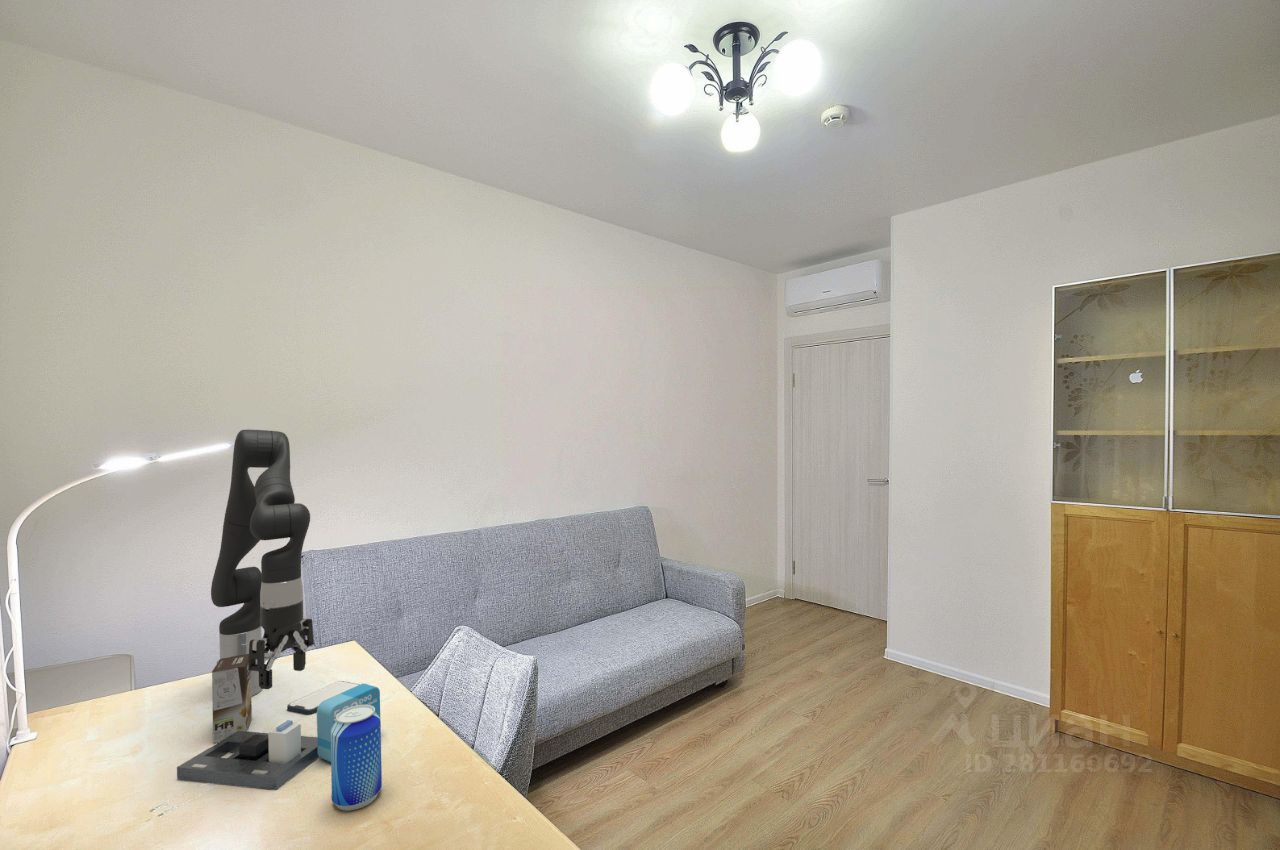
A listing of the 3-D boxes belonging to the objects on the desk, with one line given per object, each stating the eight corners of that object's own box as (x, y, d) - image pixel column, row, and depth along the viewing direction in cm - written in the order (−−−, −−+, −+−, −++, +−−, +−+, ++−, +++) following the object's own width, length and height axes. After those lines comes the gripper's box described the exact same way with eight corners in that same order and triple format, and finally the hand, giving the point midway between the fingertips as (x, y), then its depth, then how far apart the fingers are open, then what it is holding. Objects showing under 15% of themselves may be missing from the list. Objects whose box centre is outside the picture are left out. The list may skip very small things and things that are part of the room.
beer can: (369, 779, 112) (367, 698, 113) (390, 795, 107) (388, 710, 107) (324, 801, 106) (322, 715, 106) (344, 820, 101) (342, 729, 101)
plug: (269, 771, 116) (268, 728, 116) (284, 760, 120) (283, 718, 120) (286, 773, 115) (285, 729, 115) (301, 761, 119) (300, 719, 119)
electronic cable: (148, 812, 105) (148, 810, 105) (208, 782, 113) (208, 780, 113) (159, 818, 103) (159, 816, 103) (219, 787, 112) (219, 785, 112)
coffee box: (246, 736, 130) (245, 666, 130) (212, 744, 127) (211, 672, 127) (252, 718, 138) (251, 652, 138) (220, 725, 135) (219, 658, 135)
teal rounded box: (330, 766, 117) (329, 708, 117) (317, 760, 119) (316, 703, 120) (381, 738, 128) (380, 684, 128) (368, 733, 130) (367, 680, 130)
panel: (177, 779, 114) (176, 754, 114) (238, 741, 128) (238, 719, 128) (276, 790, 110) (276, 764, 110) (328, 749, 124) (328, 726, 124)
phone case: (338, 685, 157) (284, 711, 142) (338, 679, 157) (284, 705, 142) (363, 690, 154) (310, 717, 139) (363, 684, 154) (310, 710, 139)
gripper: (293, 590, 126) (294, 664, 126) (236, 611, 112) (237, 693, 112) (323, 591, 124) (324, 665, 124) (269, 612, 110) (270, 696, 110)
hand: (283, 679), depth 118 cm, fingers open, 8 cm apart
